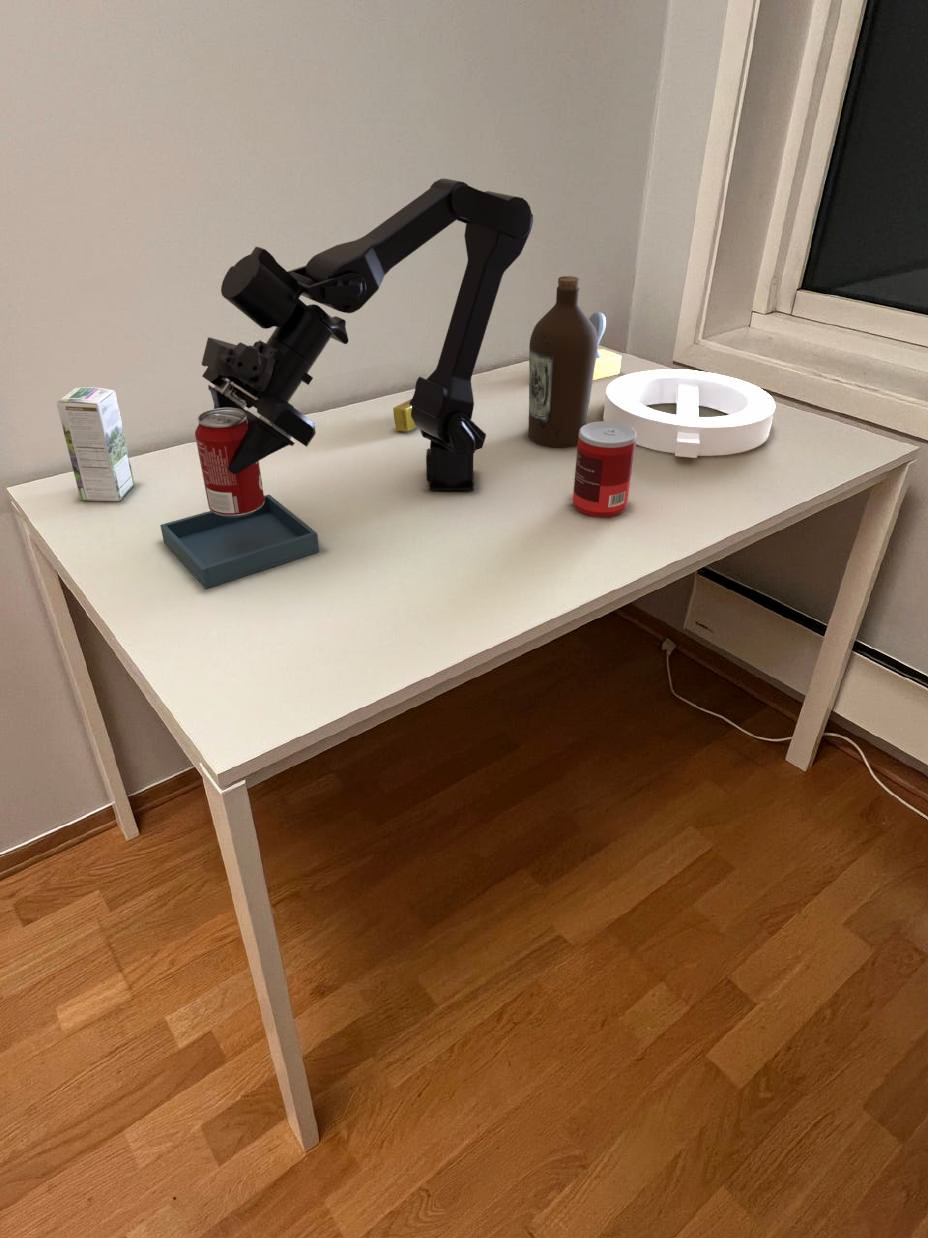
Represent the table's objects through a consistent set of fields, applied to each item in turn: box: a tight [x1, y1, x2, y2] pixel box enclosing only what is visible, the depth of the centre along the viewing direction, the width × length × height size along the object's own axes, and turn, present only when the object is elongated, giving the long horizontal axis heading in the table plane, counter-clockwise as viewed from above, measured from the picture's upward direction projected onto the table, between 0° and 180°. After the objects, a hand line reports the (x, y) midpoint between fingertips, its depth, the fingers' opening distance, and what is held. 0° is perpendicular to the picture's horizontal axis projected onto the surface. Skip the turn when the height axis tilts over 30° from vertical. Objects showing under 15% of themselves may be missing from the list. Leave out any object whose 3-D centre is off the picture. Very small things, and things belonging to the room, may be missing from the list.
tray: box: [159, 494, 320, 590], centre depth 107 cm, size 15×14×3 cm
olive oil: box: [527, 275, 599, 448], centre depth 132 cm, size 11×11×25 cm
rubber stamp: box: [588, 311, 622, 381], centre depth 162 cm, size 10×6×12 cm, turn 126°
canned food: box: [572, 420, 637, 518], centre depth 116 cm, size 8×8×11 cm
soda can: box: [194, 408, 265, 518], centre depth 101 cm, size 7×7×12 cm
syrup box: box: [56, 386, 135, 502], centre depth 116 cm, size 6×6×14 cm
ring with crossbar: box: [602, 368, 776, 459], centre depth 144 cm, size 28×28×5 cm
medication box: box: [392, 398, 418, 432], centre depth 143 cm, size 12×3×4 cm, turn 149°
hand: (218, 462), depth 100 cm, fingers closed on soda can, 7 cm apart
